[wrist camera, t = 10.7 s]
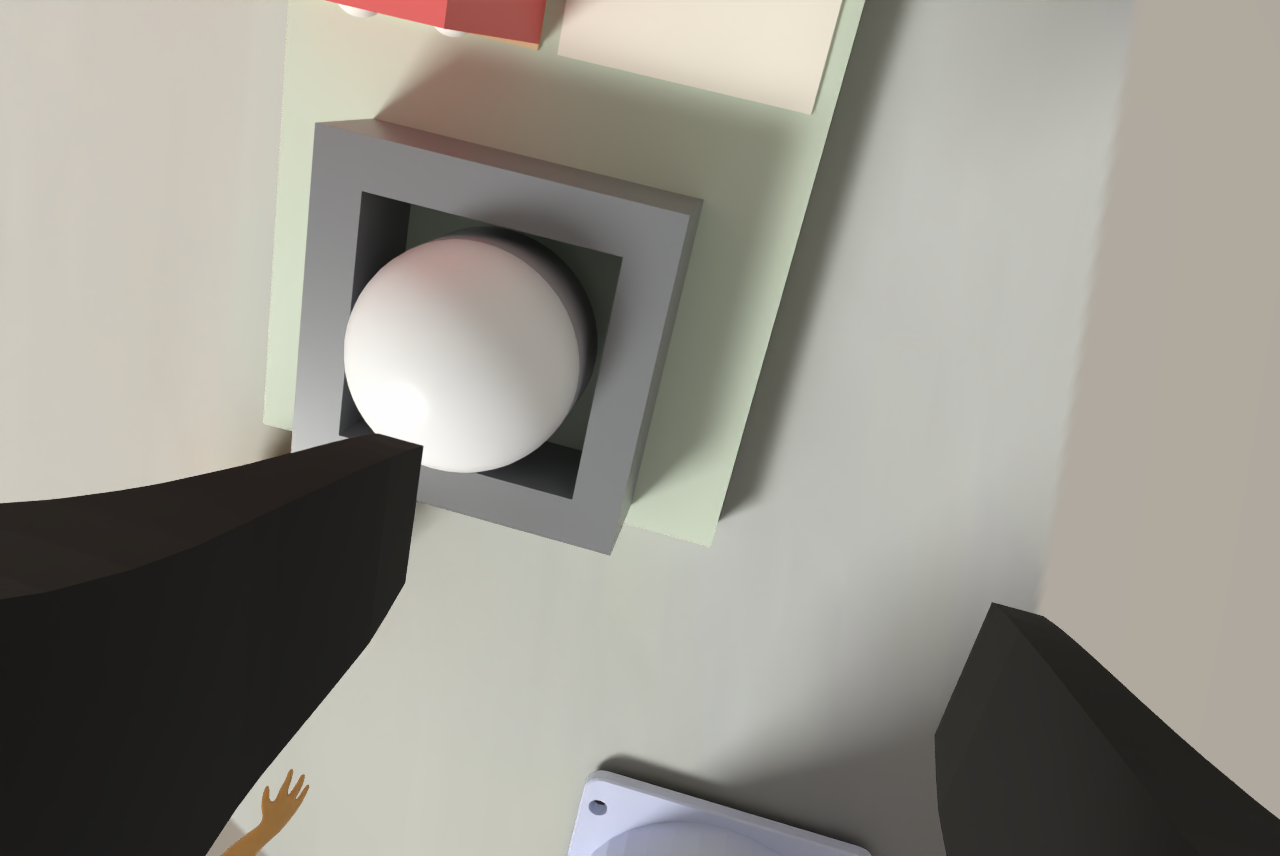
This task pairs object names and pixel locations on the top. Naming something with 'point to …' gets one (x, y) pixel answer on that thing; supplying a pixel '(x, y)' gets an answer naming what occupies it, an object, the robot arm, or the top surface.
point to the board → (608, 145)
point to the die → (461, 15)
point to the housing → (520, 200)
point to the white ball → (471, 348)
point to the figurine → (270, 818)
